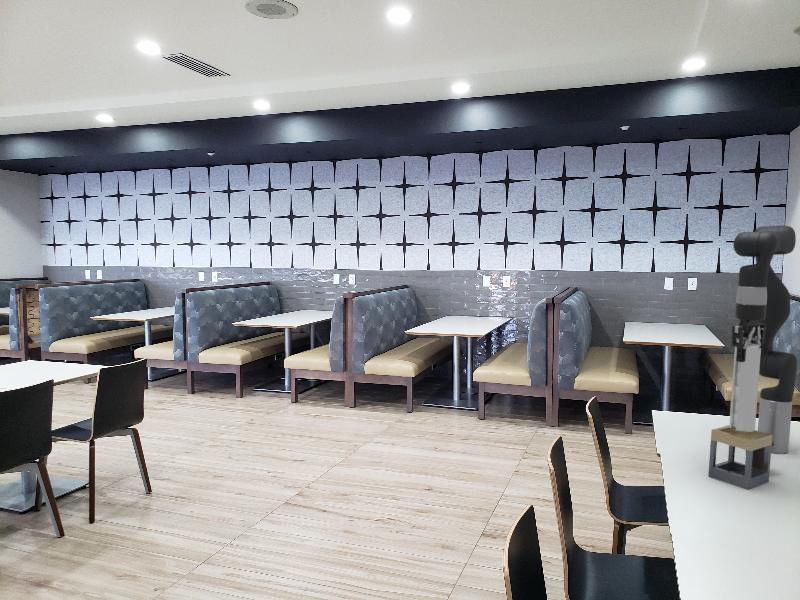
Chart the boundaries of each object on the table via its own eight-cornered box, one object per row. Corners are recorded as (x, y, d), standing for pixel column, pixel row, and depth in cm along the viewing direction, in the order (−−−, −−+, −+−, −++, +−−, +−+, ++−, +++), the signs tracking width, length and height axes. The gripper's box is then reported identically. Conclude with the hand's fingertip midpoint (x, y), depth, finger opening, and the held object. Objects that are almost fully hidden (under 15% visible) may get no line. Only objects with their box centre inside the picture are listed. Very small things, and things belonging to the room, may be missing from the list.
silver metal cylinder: (758, 433, 173) (764, 346, 171) (733, 431, 175) (739, 344, 172) (750, 426, 180) (756, 342, 177) (726, 425, 181) (732, 341, 179)
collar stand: (729, 469, 186) (732, 424, 185) (768, 481, 177) (772, 434, 175) (708, 476, 180) (711, 429, 179) (747, 489, 170) (751, 440, 169)
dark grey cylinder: (775, 470, 186) (777, 438, 185) (768, 477, 180) (771, 444, 179) (745, 463, 192) (747, 432, 191) (738, 470, 186) (740, 438, 185)
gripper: (751, 300, 181) (747, 356, 182) (724, 302, 173) (720, 360, 175) (777, 302, 175) (773, 360, 176) (751, 304, 167) (747, 365, 168)
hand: (747, 360), depth 175 cm, fingers closed on silver metal cylinder, 6 cm apart
